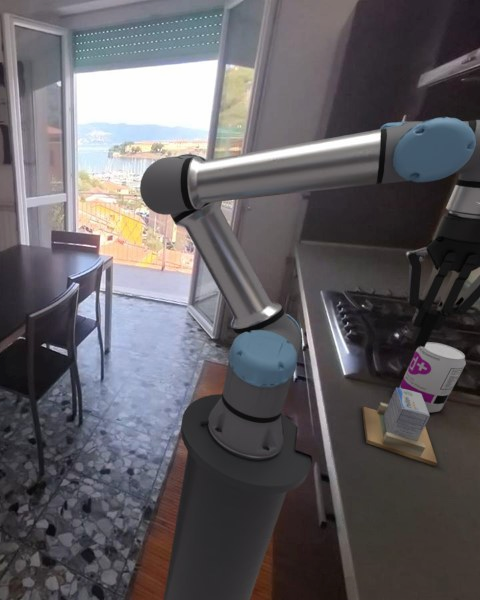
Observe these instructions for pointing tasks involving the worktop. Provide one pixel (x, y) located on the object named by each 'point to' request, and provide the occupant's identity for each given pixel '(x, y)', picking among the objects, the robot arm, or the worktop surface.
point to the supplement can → (434, 373)
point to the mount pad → (396, 437)
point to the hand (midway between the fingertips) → (417, 342)
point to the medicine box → (406, 414)
